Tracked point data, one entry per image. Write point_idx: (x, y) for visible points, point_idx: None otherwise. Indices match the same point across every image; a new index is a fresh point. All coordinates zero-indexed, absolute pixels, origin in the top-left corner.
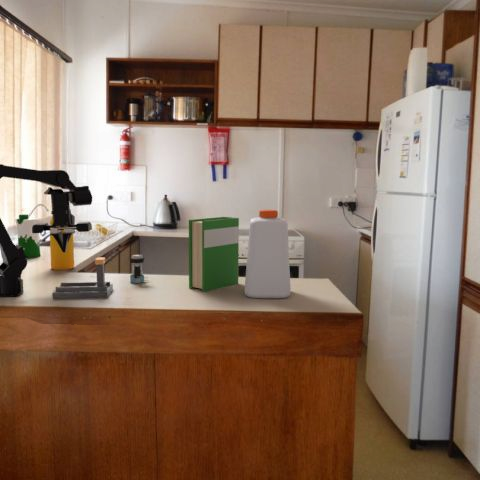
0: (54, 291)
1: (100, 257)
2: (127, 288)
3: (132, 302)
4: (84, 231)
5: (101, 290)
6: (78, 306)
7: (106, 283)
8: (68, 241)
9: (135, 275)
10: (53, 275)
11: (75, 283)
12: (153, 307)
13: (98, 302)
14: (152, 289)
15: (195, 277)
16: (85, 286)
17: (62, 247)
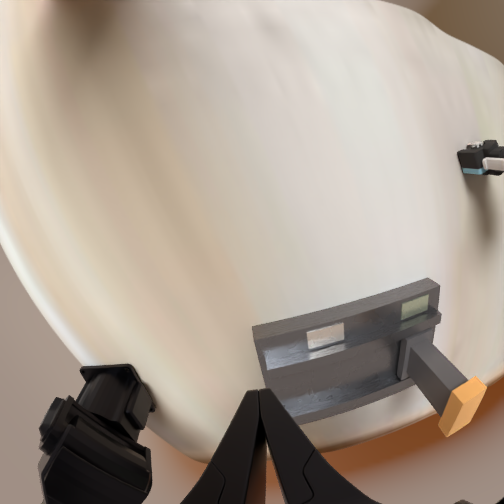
0: None
1: (473, 397)
2: (460, 253)
3: None
4: (502, 499)
5: None
6: (358, 435)
7: (430, 331)
8: (322, 461)
9: (490, 174)
10: (81, 53)
11: (328, 362)
12: None
13: (396, 403)
14: (500, 255)
15: None
16: (374, 393)
17: (264, 455)
